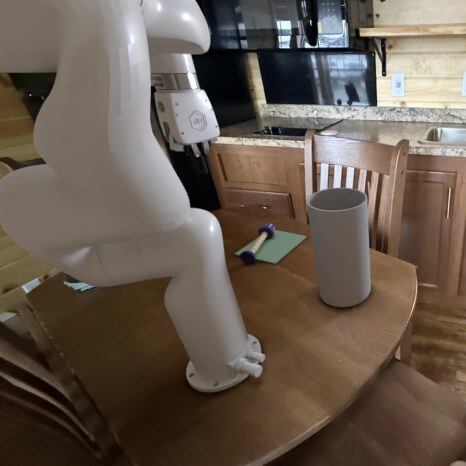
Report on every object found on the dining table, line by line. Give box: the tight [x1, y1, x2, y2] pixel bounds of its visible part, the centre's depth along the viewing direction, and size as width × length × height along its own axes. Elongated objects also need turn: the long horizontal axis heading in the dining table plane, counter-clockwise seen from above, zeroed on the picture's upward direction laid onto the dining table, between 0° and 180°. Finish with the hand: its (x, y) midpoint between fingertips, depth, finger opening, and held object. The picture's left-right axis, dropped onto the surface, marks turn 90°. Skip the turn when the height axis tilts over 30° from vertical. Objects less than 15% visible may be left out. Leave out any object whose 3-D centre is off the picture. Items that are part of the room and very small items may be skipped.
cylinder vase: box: [306, 187, 372, 308], centre depth 72 cm, size 12×12×25 cm
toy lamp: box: [239, 223, 276, 265], centre depth 94 cm, size 5×5×17 cm
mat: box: [234, 229, 308, 265], centre depth 96 cm, size 14×16×1 cm
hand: (203, 172), depth 71 cm, fingers closed
